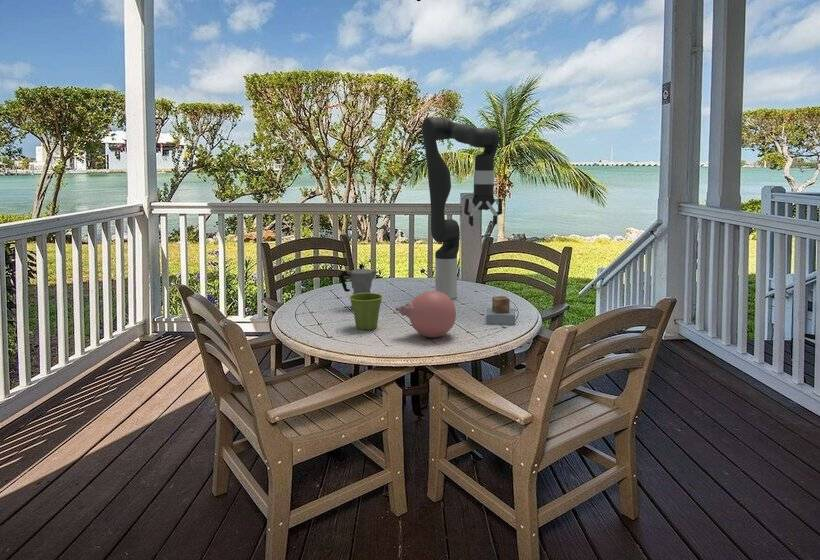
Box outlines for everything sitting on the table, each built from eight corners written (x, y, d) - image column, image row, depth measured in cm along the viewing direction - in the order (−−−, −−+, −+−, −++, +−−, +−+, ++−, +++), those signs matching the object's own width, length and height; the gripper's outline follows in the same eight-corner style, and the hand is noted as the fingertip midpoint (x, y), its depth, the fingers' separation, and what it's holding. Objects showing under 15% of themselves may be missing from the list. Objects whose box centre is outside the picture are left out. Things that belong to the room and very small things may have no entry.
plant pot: (343, 330, 204) (342, 298, 202) (360, 322, 215) (359, 291, 212) (374, 333, 199) (373, 301, 197) (389, 325, 210) (388, 294, 208)
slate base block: (486, 325, 210) (486, 314, 209) (487, 318, 220) (487, 307, 219) (514, 326, 208) (515, 315, 208) (514, 319, 218) (514, 308, 217)
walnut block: (495, 313, 211) (495, 299, 210) (492, 309, 216) (492, 296, 215) (509, 312, 211) (509, 299, 210) (505, 309, 216) (505, 296, 215)
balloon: (397, 329, 204) (396, 286, 201) (455, 330, 203) (455, 286, 200) (393, 343, 189) (392, 296, 186) (456, 343, 187) (456, 296, 185)
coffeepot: (375, 304, 241) (374, 261, 237) (381, 310, 232) (380, 264, 229) (338, 307, 236) (336, 263, 233) (342, 313, 228) (341, 267, 224)
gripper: (500, 182, 226) (499, 224, 229) (463, 182, 225) (463, 225, 229) (504, 183, 218) (503, 226, 222) (466, 183, 218) (465, 227, 221)
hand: (482, 225), depth 225 cm, fingers open, 8 cm apart
